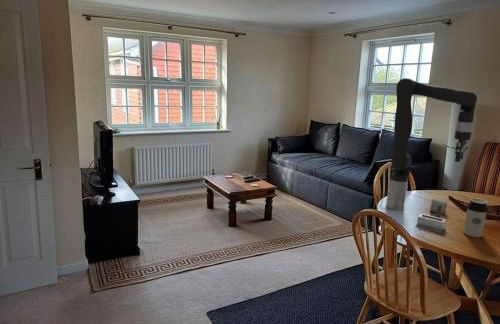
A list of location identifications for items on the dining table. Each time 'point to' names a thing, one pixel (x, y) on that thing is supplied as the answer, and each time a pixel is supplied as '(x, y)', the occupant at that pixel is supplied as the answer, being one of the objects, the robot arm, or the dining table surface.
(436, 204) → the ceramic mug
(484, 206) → the travel mug
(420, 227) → the mat
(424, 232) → the dining table surface
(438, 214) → the post
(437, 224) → the white slotted block
